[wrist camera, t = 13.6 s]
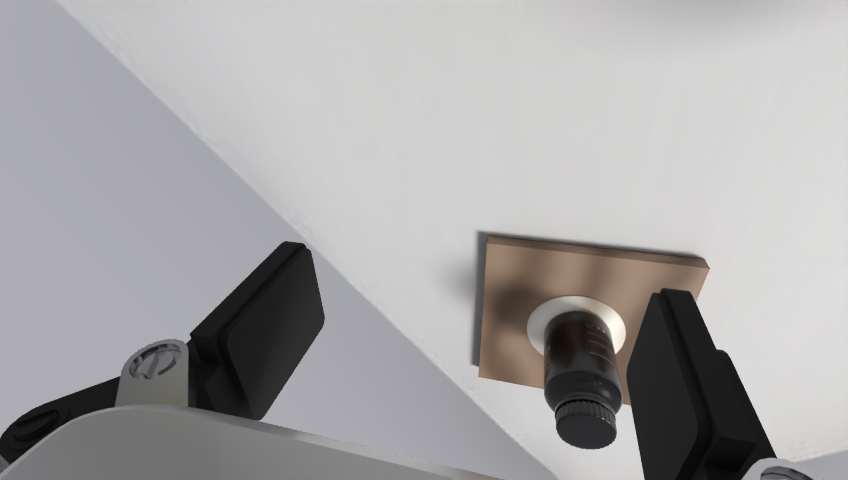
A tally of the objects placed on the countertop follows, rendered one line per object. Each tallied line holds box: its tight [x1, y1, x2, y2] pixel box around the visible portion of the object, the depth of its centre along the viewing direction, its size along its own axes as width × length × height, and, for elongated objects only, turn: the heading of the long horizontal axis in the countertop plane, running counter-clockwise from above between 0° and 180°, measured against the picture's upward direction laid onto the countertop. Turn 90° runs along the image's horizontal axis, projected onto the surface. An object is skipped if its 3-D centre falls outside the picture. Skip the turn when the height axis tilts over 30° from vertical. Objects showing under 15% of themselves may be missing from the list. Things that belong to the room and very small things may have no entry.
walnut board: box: [478, 236, 710, 405], centre depth 45 cm, size 20×20×2 cm
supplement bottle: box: [544, 311, 623, 449], centre depth 40 cm, size 7×7×12 cm
